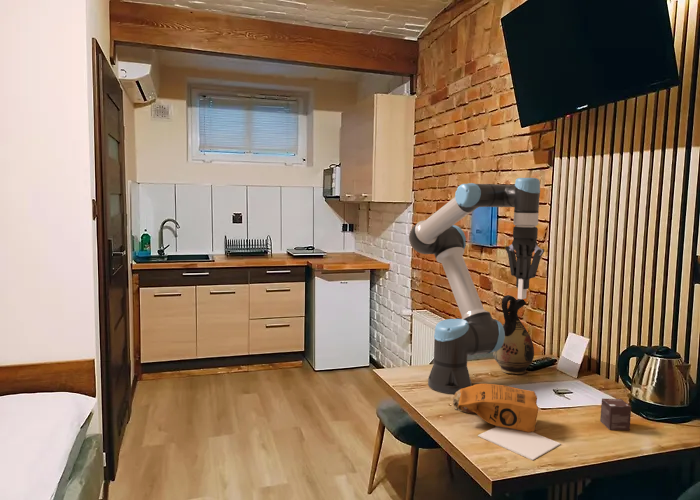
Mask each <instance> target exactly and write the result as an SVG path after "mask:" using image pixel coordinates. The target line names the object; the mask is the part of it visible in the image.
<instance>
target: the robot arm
mask: <svg viewBox="0 0 700 500" xmlns="http://www.w3.org/2000/svg"><path fill="white" fill-rule="evenodd" d="M540 183H541V181H540V179H539V178H537V177H518V178H516V179H515V182H514V184H496V183H493V184H490V183H473V182H469V183H462V184H460V185H459V186H458V187H457V189H456V191H455V192H454V193H455V195H454V197H453V198H451V199H450V200H449V201H447V203H445V204H444V205H443V206H442V207H440V208H439V209H438V210H437V211H435V212H434V213H432V214H431V215H430V216H429V217H428V218H426V219H425V220H420V221H418V222H417V223H416V224H415V225H413V226H412V228H411V229H410V232H409V235H408V240H409V244H410V246H411V248H412V249H413V250H414V251H416V252H417V253H419V254H422V255H434V258H435V259H436V262H437V263H439V264H441V265H442V267H443V271H444V273H445V276H446V279H447V281H448V284H449V286H450V289H451V291H452V293H453V294H452V295H453V297H454V299H455V302H456V305H457V308H458V310H459V313H460V315H461V318H447V319H444V320H441V321H439V322H437V323H436V325H435V327H434V334H433V337H434V341H433V342H434V345H433V364H432V368H431V370H430V373H429V376H428V380H427V382H428V383H427V385H428V387H429V388H430V389H432V390H434V391H436V392H440V393H444V394H454V395H455V393H456V392H457V391H458V390H460V389H463V388H466V387H469V386H472V380H471V376H470V373H469V369H468V356H477V355H483V354H491V353H493V352H495V351H498V350H499V349H500V348H501V347H502V345H503V343H504V339H505V332H504V328H503V324H502V322H501V321H499V320H498V319H493V317H492V315H491V312H490V311H488V310H485V308H484V306H483V303H482V301H481V299H480V296H479V293H478V291H477V288H476V286H475V284H474V281H473V279H472V275H471V274H470V271H469V269H468V266H467V263H466V262H465V259H464V256H463V255H465V254H464V253H465V249H466V246H467V243H466V241H467V237H466V234H465V232H464V231H463V229H462V228H461V227H459V226H458V225H456V224H457V223H458V222H460V221H461V220H463V219H464V218H465V217H467V216H468V215H469V214H471V213H472V212H474V211H475V210H477V209H478V208H513V223H512V224H513V225H514V226H513V227H512V237H513V238H512V239H513V240H512V242H511V244H509V245H508V246H505V247H504V249H505V251H506V253H507V258H508V263H509V271H510V275H511V276H513V277H515V278H516V281H515V282H516V283H515V287H516V288H517V300H518V299H523V300H524V299H527V290H529V288H530V279H532V278H536V277H537V272H538V268H539V267H540V266H539V265H540V261H541V258H542V256H543V254H544V253H545V249H544V248H541V247H539V245H538V241H537V240H538V236H539V235H538V233H539V228H538V227H537V226H539V215H540V214H539V212H540V197H541V196H540V194H541V186H540V185H541V184H540ZM533 253H534V255H533Z"/></svg>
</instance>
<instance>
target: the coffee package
mask: <svg viewBox="0 0 700 500" xmlns="http://www.w3.org/2000/svg"><path fill="white" fill-rule="evenodd" d="M460 393H461V396H460V400H459V405H458V408H459V409H460V410H463V408H464V407H467V408H468V409H469V410H471V411H473V412H475V414H476V415H477V416H478V417H479V418H481V419H482V420H483V421H485V422H487V423H488V424H491V425H493V426H495V427H497V426H500V427H506V428H511V429H516V430H520V431H524V432H528V433H529V432H533V433H534V431H535V427H536V425H537V419H538V414H539V407H538V404H537V403H538V402H537V400H538V396H537V394H536V391H533V390H528V389H522V388H517V387H512V386H508V385H501V384H496V383H494V384H493V383H477V384H473V385H471V386H469V387H466V388H463V389H460Z"/></svg>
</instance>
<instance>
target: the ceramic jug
mask: <svg viewBox="0 0 700 500" xmlns="http://www.w3.org/2000/svg"><path fill="white" fill-rule="evenodd" d="M508 302H509V306H508ZM526 304H527V302H526V301H525V300H524V299H518V298H517V299H516V297H514V296H512V295H504V296H503V298H502V299H501V310H502V314H503V319H504V323H503V324H502V325H503V328H504V332H505V339H504V343H503V345H502V347H501V348H500V349H499V350H498V351H495V352H492V355H493V358H494V360H495V362H496V363H497V364H498V365H499V367H500V371H501V372H503V373H504V374H505V373H507V374H514V375H523V374H526V373H527V368H528V367H529V366H531V364H532V363H533V361H534V357H535V347H534V343H533V341H532V337H531V335H530V333H529V331H528V330H527V329H526V327H525V325H524V324H523V323H522V321H521V319H520V317H519V315H518V312H519V310H520V309H521V308H523V307H524V306H526Z"/></svg>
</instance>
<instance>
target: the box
mask: <svg viewBox="0 0 700 500" xmlns="http://www.w3.org/2000/svg"><path fill="white" fill-rule="evenodd" d="M600 408H601V409H600V419H599V420H600V423H601V424H602V425H604V426H605V427H606V428H607V429H608V430H610V431H630V430H631V429H630V428H631V419H632V418H631V417H632V416H631V415H632V406H631V405H630V404H629V403H628V402H626V401H625V400H623V399H622V398H601V406H600Z"/></svg>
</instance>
